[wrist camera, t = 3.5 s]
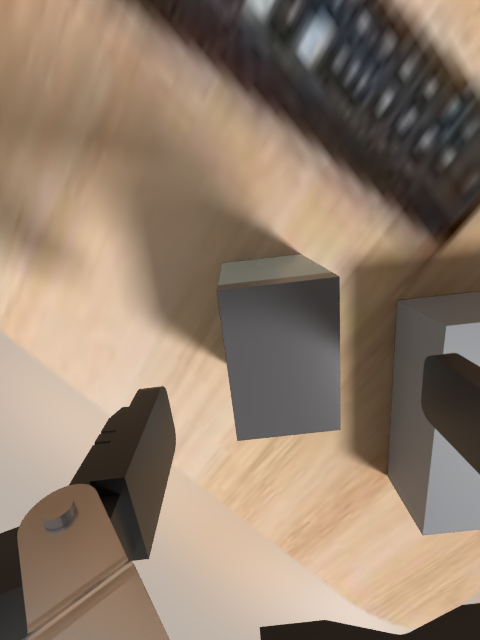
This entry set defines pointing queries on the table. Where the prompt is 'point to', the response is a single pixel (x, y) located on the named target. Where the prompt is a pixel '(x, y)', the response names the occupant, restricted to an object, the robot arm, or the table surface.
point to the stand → (411, 424)
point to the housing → (281, 345)
